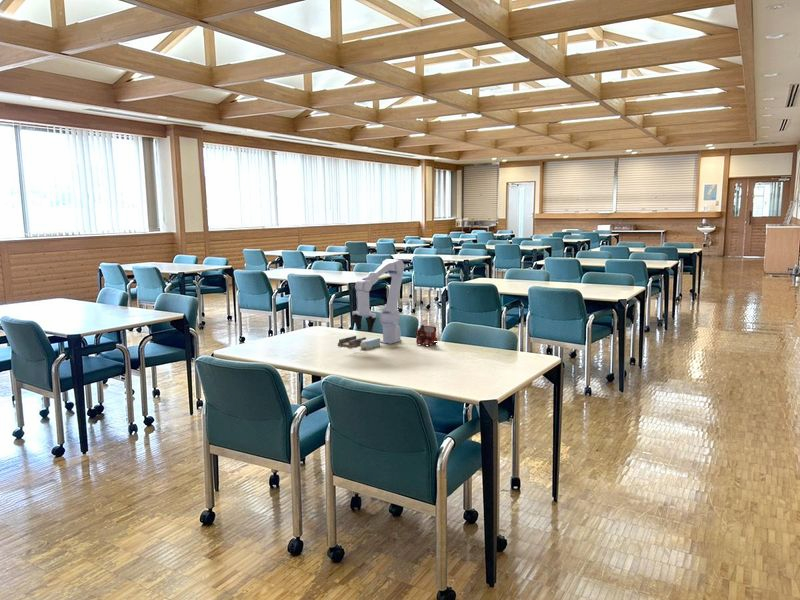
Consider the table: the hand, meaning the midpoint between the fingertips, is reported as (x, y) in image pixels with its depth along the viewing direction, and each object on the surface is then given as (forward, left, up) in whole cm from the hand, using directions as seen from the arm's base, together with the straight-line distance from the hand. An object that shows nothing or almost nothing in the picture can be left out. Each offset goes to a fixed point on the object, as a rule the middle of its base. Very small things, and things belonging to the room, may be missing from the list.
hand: (364, 330), depth 298 cm
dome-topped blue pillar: (-3, 0, -9) cm, 10 cm away
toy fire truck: (-25, +20, -10) cm, 34 cm away
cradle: (-3, -12, -9) cm, 16 cm away
